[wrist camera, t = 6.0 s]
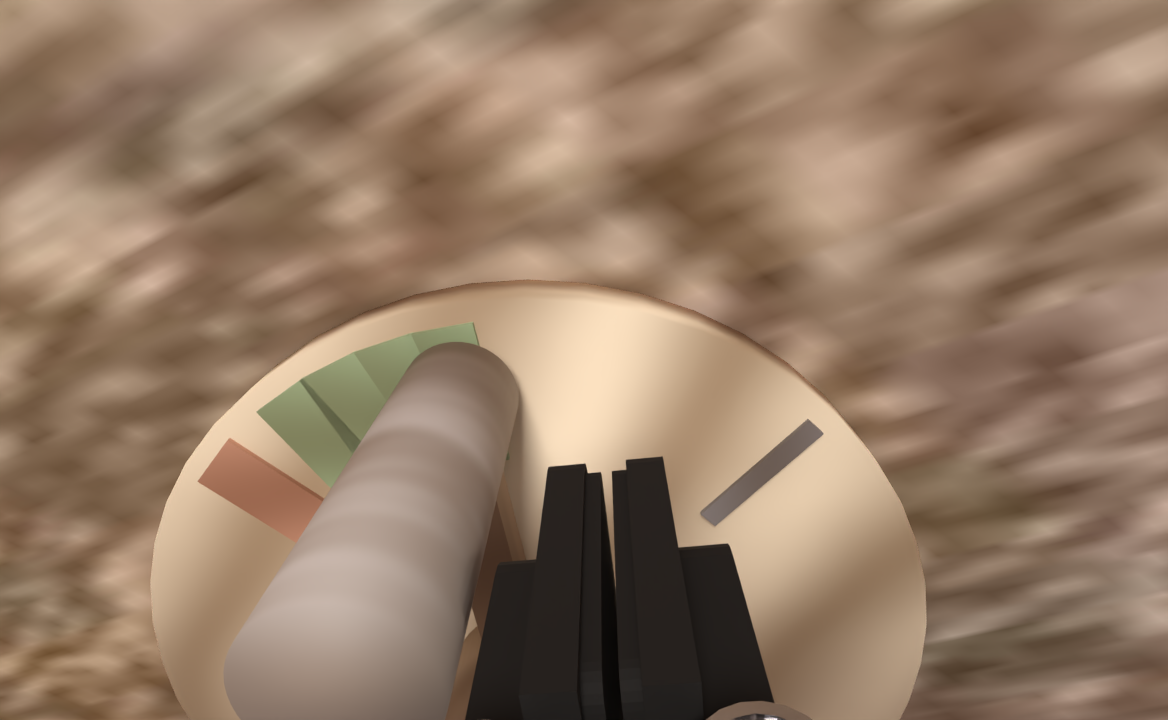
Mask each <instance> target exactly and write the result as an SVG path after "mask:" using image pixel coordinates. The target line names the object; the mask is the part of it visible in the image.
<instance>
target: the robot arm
mask: <svg viewBox="0 0 1168 720" xmlns="http://www.w3.org/2000/svg"><path fill="white" fill-rule="evenodd" d="M612 493H613V521H614V549H615V577H616V586H615V578H614V570H613V562H612V554H611V546H610V538H609V529H608V521H607V513H606V505H605V497H604V489H603V481H602V474H601V472H595V473H588V472H587V467H586V463H584V464H573V465H562V466H551V467H548V470H547V478H546V485H545V493H544V501H543V509H542V517H541V524H540V532H539V540H538V548H537V556H536V559H533V560H521V561H509V562H500V563H499V564H498V566H497V569H496V572H495V577H494V582H493V586H492V591H491V596H490V601H489V606H488V611H487V615H486V620H485V625H484V630H483V635H482V640H481V644H480V649H479V654H478V659H477V664H476V669H475V674H474V678H473V683H472V688H471V693H470V698H469V703H468V707H467V712H466V717H465V720H812V719H811V718H810V717H808V716H807V715H805V714H803V713H801V712H799V711H796V710H794V709H792V708H790V707H788V706H786V705H781V704H776V703H774V699H773V696H772V692H771V688H770V685H769V681H768V678H767V674H766V671H765V667H764V664H763V660H762V657H761V653H760V649H759V646H758V642H757V639H756V635H755V632H754V628H753V625H752V621H751V617H750V614H749V610H748V607H747V603H746V600H745V596H744V593H743V589H742V586H741V582H740V578H739V575H738V571H737V568H736V564H735V561H734V557H733V554H732V551H731V548H730V546H729V544H728V543H726V544H714V545H702V546H690V547H678V542H677V536H676V530H675V524H674V519H673V513H672V507H671V501H670V495H669V489H668V483H667V478H666V472H665V466H664V460H663V456H661V457H650V458H639V459H628V460H626V470H617V471H612Z"/></svg>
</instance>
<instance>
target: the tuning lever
mask: <svg viewBox="0 0 1168 720" xmlns="http://www.w3.org/2000/svg"><path fill="white" fill-rule="evenodd" d="M518 402H519V394H518V388H517V384H516V381H515V379H514V377H513V374H512V373H511V371H510V370H509V368H508V367H507V366H506V364H505V363H504V362H503V361H502V360H501V359H500V358H499V357H498V356H496V355H495V354H494V353H492V352H491V351H489V350H487V349H485V348H483V347H480V346H478V345H475V344H471V343H465V342H447V343H442V344H438V345H435V346H433V347H430V348H429V349H427V350H425V351H424V352H422V353H421V354H419V355H418V356H417V357H416V358H415V359H414V360H413V362H412V363H411V364H410V366H409V367H408V369H407V370H406V372H405V374H404V375H403V377H402V378H401V380H400V381H399V383H398V385H397V386H396V388H395V389H394V391H393V392H392V394H391V395H390V397H389V399H388V400H387V402H386V403H385V405H384V406H383V408H382V410H381V411H380V413H379V414H378V416H377V417H376V419H375V420H374V422H373V424H372V425H371V427H370V428H369V430H368V431H367V433H366V435H365V436H364V438H363V439H362V441H361V442H360V444H359V446H358V447H357V449H356V450H355V452H354V453H353V455H352V456H351V458H350V460H349V461H348V463H347V464H346V466H345V467H344V469H343V471H342V472H341V474H340V475H339V477H338V478H337V480H336V481H335V483H334V485H333V486H332V488H331V489H330V491H329V492H328V494H327V496H326V497H325V499H324V500H323V502H322V503H321V505H320V507H319V508H318V510H317V511H316V513H315V514H314V516H313V517H312V519H311V521H310V522H309V524H308V525H307V527H306V528H305V530H304V532H303V533H302V535H301V536H300V538H299V539H298V541H297V543H296V544H295V546H294V547H293V549H292V550H291V552H290V553H289V555H288V557H287V558H286V560H285V561H284V563H283V564H282V566H281V568H280V569H279V571H278V572H277V574H276V575H275V577H274V578H273V580H272V582H271V583H270V585H269V586H268V588H267V589H266V591H265V593H264V594H263V596H262V597H261V599H260V600H259V602H258V604H257V605H256V607H255V608H254V610H253V611H252V613H251V614H250V616H249V618H248V619H247V621H246V622H245V624H244V625H243V627H242V629H241V630H240V632H239V633H238V635H237V636H236V638H235V640H234V641H233V643H232V645H231V647H230V648H229V650H228V653H227V656H226V659H225V663H224V671H223V675H224V685H225V690H226V694H227V696H228V699H229V701H230V704H231V706H232V707H233V709H234V711H235V712H236V714H237V716H238V717H239V718H240V719H241V720H465V717H466V712H467V707H468V703H469V698H470V693H471V688H472V683H473V678H474V674H475V669H476V664H477V659H478V654H479V649H480V644H481V640H482V635H483V630H484V625H485V620H486V615H487V611H488V606H489V601H490V596H491V591H492V586H493V582H494V577H495V572H496V569H497V566H498V564H499V563H500V562H509V561H521V560H526V557H525V553H524V549H523V545H522V542H521V538H520V534H519V530H518V526H517V522H516V518H515V514H514V510H513V506H512V502H511V499H510V495H509V491H508V487H507V483H506V479H505V475H504V471H503V469H504V465H505V461H506V456H507V452H508V448H509V443H510V439H511V435H512V430H513V426H514V422H515V417H516V413H517V409H518ZM471 608H472V610H473V613H474V616H475V620H476V623H477V627H475V628H474V629H473V630H472V631H471V632H470V633H469V634H468V636H467V637H466V639H465V640H464V638H465V634H466V629H467V625H468V621H469V616H470V612H471Z"/></svg>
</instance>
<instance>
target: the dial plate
mask: <svg viewBox="0 0 1168 720" xmlns="http://www.w3.org/2000/svg"><path fill="white" fill-rule="evenodd" d="M447 342H465V343H471V344H475V345H478V346H480V347H483V348H485V349H487V350H489V351H491V352H492V353H494V354H495V355H496V356H498V357H499V358H500V359H501V360H502V361H503V362H504V363H505V364H506V366H507V367H508V368H509V370H510V371H511V373H512V374H513V377H514V379H515V381H516V384H517V388H518V394H519V402H518V409H517V413H516V417H515V422H514V426H513V430H512V435H511V439H510V443H509V448H508V452H507V456H506V461H505V465H504V469H503V471H504V475H505V479H506V483H507V487H508V491H509V495H510V499H511V502H512V506H513V510H514V514H515V518H516V522H517V526H518V530H519V534H520V538H521V542H522V545H523V549H524V553H525V557H526V560H533V559H536V556H537V548H538V540H539V532H540V524H541V517H542V509H543V501H544V493H545V485H546V478H547V470H548V467H551V466H562V465H573V464H584V463H586V467H587V472H588V473H595V472H601V474H602V481H603V489H604V497H605V505H606V513H607V521H608V529H609V538H610V546H611V554H612V562H613V570H614V578H615V586H616V577H615V549H614V521H613V493H612V471H617V470H626V460H628V459H639V458H650V457H661V456H663V460H664V466H665V472H666V478H667V483H668V489H669V495H670V501H671V507H672V513H673V519H674V524H675V530H676V536H677V542H678V547H690V546H702V545H714V544H726V543H728V544H729V546H730V548H731V551H732V554H733V557H734V561H735V564H736V568H737V571H738V575H739V578H740V582H741V586H742V589H743V593H744V596H745V600H746V603H747V607H748V610H749V614H750V617H751V621H752V625H753V628H754V632H755V635H756V639H757V642H758V646H759V649H760V653H761V657H762V660H763V664H764V667H765V671H766V674H767V678H768V681H769V685H770V688H771V692H772V696H773V699H774V703H776V704H781V705H786V706H788V707H790V708H792V709H794V710H796V711H799V712H801V713H803V714H805V715H807V716H808V717H810V718H811V719H812V720H900V718H901V716H902V714H903V712H904V710H905V708H906V706H907V704H908V702H909V700H910V696H911V693H912V690H913V687H914V684H915V681H916V678H917V675H918V671H919V668H920V665H921V660H922V653H923V646H924V639H925V632H926V626H927V621H926V584H925V580H924V575H923V570H922V565H921V560H920V555H919V550H918V545H917V542H916V539H915V537H914V534H913V531H912V529H911V526H910V524H909V521H908V519H907V516H906V514H905V511H904V508H903V506H902V503H901V501H900V499H899V498H898V496H897V494H896V493H895V491H894V489H893V488H892V486H891V484H890V483H889V481H888V479H887V478H886V476H885V474H884V473H883V471H882V469H881V468H880V466H879V464H878V463H877V461H876V460H875V458H874V457H873V456H872V454H871V453H870V452H869V450H868V449H867V448H866V446H865V445H864V443H863V442H862V441H861V439H860V438H859V437H858V435H857V434H856V433H855V431H854V430H853V429H852V428H851V426H850V425H849V424H848V423H847V422H846V421H845V419H844V418H843V417H842V416H841V415H840V413H839V412H838V411H837V410H836V409H835V407H834V406H833V405H832V404H831V403H830V401H829V400H828V399H827V398H826V397H825V396H824V395H823V394H822V393H821V392H820V391H819V390H818V389H817V388H815V387H814V386H813V385H812V384H811V383H810V382H809V381H807V380H806V379H805V378H804V377H803V376H802V375H801V374H800V373H798V372H797V371H796V370H795V369H794V368H793V367H792V366H790V365H789V364H788V363H787V362H785V361H784V360H782V359H781V358H779V357H778V356H776V355H775V354H773V353H772V352H770V351H769V350H767V349H766V348H764V347H763V346H761V345H759V344H758V343H756V342H755V341H753V340H752V339H750V338H749V337H747V336H746V335H744V334H742V333H740V332H738V331H736V330H734V329H732V328H730V327H728V326H726V325H723V324H721V323H719V322H717V321H715V320H713V319H711V318H709V317H707V316H705V315H702V314H700V313H698V312H696V311H694V310H691V309H688V308H685V307H681V306H678V305H675V304H672V303H669V302H666V301H663V300H660V299H657V298H654V297H650V296H647V295H644V294H641V293H636V292H631V291H625V290H620V289H614V288H609V287H604V286H598V285H593V284H588V283H577V282H560V281H542V280H515V281H500V282H486V283H471V284H466V285H461V286H456V287H451V288H446V289H441V290H436V291H431V292H426V293H421V294H416V295H413V296H410V297H407V298H404V299H401V300H398V301H395V302H392V303H390V304H387V305H384V306H381V307H378V308H375V309H372V310H369V311H366V312H364V313H362V314H360V315H358V316H356V317H354V318H352V319H350V320H348V321H346V322H344V323H342V324H340V325H338V326H336V327H334V328H332V329H330V330H328V331H326V332H324V333H322V334H320V335H319V336H317V337H315V338H314V339H313V340H311V341H310V342H308V343H307V344H306V345H304V346H303V347H301V348H300V349H299V350H297V351H296V352H294V353H293V354H292V355H290V356H289V357H287V358H286V359H285V360H283V361H282V362H280V363H279V364H277V365H276V366H275V367H274V368H273V369H272V370H271V371H270V372H269V373H268V374H266V375H265V376H264V377H263V378H262V379H261V380H260V381H259V382H258V383H257V384H255V385H254V386H253V387H252V388H251V389H250V390H249V391H248V392H247V393H246V394H245V395H244V396H243V397H242V398H241V399H240V400H239V401H238V402H237V403H236V404H235V405H233V406H232V407H231V408H230V409H229V410H228V411H227V412H226V413H225V414H224V415H223V416H222V417H221V418H220V419H219V420H218V421H217V422H216V423H215V424H214V425H213V427H212V428H211V429H210V431H209V432H208V433H207V435H206V436H205V437H204V439H203V440H202V442H201V443H200V444H199V446H198V447H197V448H196V450H195V451H194V452H193V454H192V455H191V457H190V458H189V459H188V461H187V462H186V464H185V466H184V468H183V470H182V472H181V474H180V476H179V478H178V480H177V482H176V484H175V486H174V488H173V490H172V492H171V494H170V496H169V498H168V500H167V502H166V505H165V509H164V512H163V516H162V519H161V523H160V526H159V529H158V533H157V536H156V540H155V544H154V553H153V562H152V572H151V581H150V587H151V602H152V617H153V626H154V630H155V634H156V638H157V643H158V647H159V651H160V655H161V660H162V663H163V665H164V668H165V670H166V673H167V675H168V678H169V680H170V682H171V685H172V687H173V690H174V692H175V695H176V697H177V699H178V701H179V702H180V704H181V706H182V708H183V709H184V711H185V713H186V714H187V716H188V718H189V720H241V719H240V718H239V717H238V716H237V714H236V712H235V711H234V709H233V707H232V706H231V704H230V701H229V699H228V696H227V694H226V690H225V685H224V675H223V671H224V663H225V659H226V656H227V653H228V650H229V648H230V647H231V645H232V643H233V641H234V640H235V638H236V636H237V635H238V633H239V632H240V630H241V629H242V627H243V625H244V624H245V622H246V621H247V619H248V618H249V616H250V614H251V613H252V611H253V610H254V608H255V607H256V605H257V604H258V602H259V600H260V599H261V597H262V596H263V594H264V593H265V591H266V589H267V588H268V586H269V585H270V583H271V582H272V580H273V578H274V577H275V575H276V574H277V572H278V571H279V569H280V568H281V566H282V564H283V563H284V561H285V560H286V558H287V557H288V555H289V553H290V552H291V550H292V549H293V547H294V546H295V544H296V543H297V541H298V539H299V538H300V536H301V535H302V533H303V532H304V530H305V528H306V527H307V525H308V524H309V522H310V521H311V519H312V517H313V516H314V514H315V513H316V511H317V510H318V508H319V507H320V505H321V503H322V502H323V500H324V499H325V497H326V496H327V494H328V492H329V491H330V489H331V488H332V486H333V485H334V483H335V481H336V480H337V478H338V477H339V475H340V474H341V472H342V471H343V469H344V467H345V466H346V464H347V463H348V461H349V460H350V458H351V456H352V455H353V453H354V452H355V450H356V449H357V447H358V446H359V444H360V442H361V441H362V439H363V438H364V436H365V435H366V433H367V431H368V430H369V428H370V427H371V425H372V424H373V422H374V420H375V419H376V417H377V416H378V414H379V413H380V411H381V410H382V408H383V406H384V405H385V403H386V402H387V400H388V399H389V397H390V395H391V394H392V392H393V391H394V389H395V388H396V386H397V385H398V383H399V381H400V380H401V378H402V377H403V375H404V374H405V372H406V370H407V369H408V367H409V366H410V364H411V363H412V362H413V360H414V359H415V358H416V357H417V356H418V355H419V354H421V353H422V352H424V351H425V350H427V349H429V348H430V347H433V346H435V345H438V344H442V343H447ZM475 627H477V623H476V620H475V616H474V613H473V610H472V608H471V612H470V616H469V621H468V625H467V629H466V634H465V638H464V640H465V639H466V637H467V636H468V634H469V633H470V632H471V631H472V630H473V629H474V628H475Z"/></svg>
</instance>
